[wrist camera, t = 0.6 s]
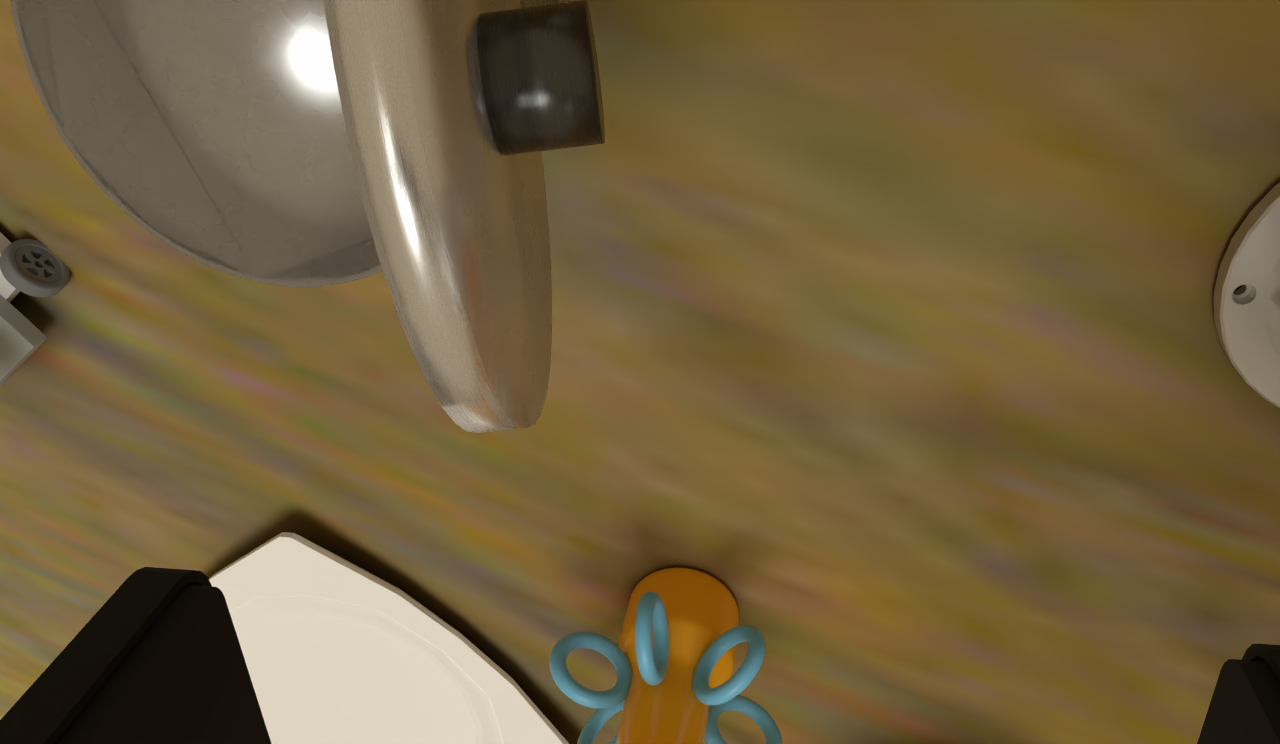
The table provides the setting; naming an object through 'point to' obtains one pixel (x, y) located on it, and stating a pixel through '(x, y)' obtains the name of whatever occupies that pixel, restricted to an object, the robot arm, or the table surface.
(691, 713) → the orange blue upright piece
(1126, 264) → the table surface
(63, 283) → the toy car
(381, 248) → the lid
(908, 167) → the table surface
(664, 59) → the table surface
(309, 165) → the pot
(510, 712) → the plate
